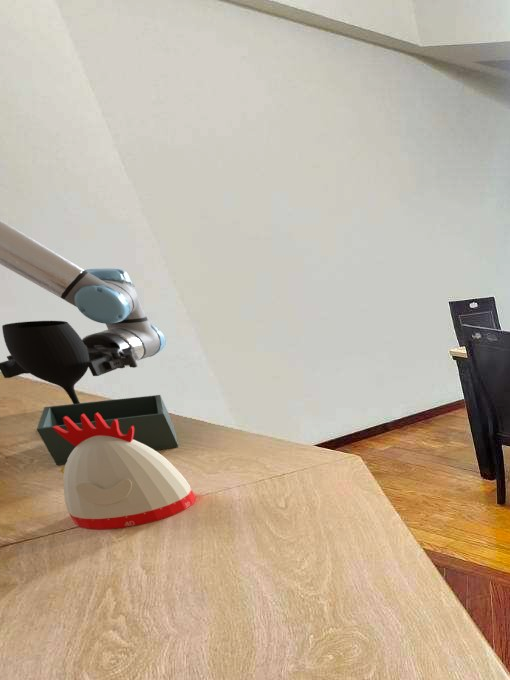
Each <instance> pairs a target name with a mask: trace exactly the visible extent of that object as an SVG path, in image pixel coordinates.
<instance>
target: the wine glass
mask: <svg viewBox="0 0 510 680" xmlns="http://www.w3.org/2000/svg"><path fill="white" fill-rule="evenodd" d="M1 327H2V329H1V330H2V335H3V336H2V337H3V339H4V343H5V346H6V349H7V350H8V353H9V354H10V355H11V356H12V357H13V359H14V360H15V361H16V362H17V363H18V365H19V366H21V367H22V368H23V369H24V370H26V371H27V372H29V373H28V374H29V375H32V376H33V377H36V378H37V379H40V380H42V381H44V382H47V383H50V384H52V385H55V386H58V387H61V388H62V389H63V390H64V391H65V392H66V394H67V395H68V397H69V399H70V400H71V402H72V404H78V403H81V402H80V400H79V398H78V395H77V393H76V390H75V385H76V384H77V383H78V382H79V381H80V380H81V379H83V377H84V376H85V374H86V373H87V371H88V369H89V367H88V365H87V363H86V362H88V361H89V354H88V351H87V348H86V346H85V344H84V343H83V341H82V339H83V338H81V336H80V335H79V334H78V333H77V331H76V330H75V329H74V328H73V326H72V325H70V323H69V322H68V321H65V320H64V321H63V320H31V321H19V322H11V323H6V324H3V325H2V326H1Z"/></svg>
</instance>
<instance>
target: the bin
mask: <svg viewBox="0 0 510 680" xmlns="http://www.w3.org/2000/svg"><path fill="white" fill-rule="evenodd" d="M97 412H98V413H99V414H100V415H101V417H102V418H103V419H104V421H105V422H106V424H107V425H108V426H109V427H110V428H111V425H112V422H113V421H114V420H115V419H117V420H118V423H119V430H120V432H121V433H122V434H124V435H126V434H128V432H129V429H130V428H131V427H132V426H134V437H133V440H136V441H138V442H140V443H142V444H144V445H146V446H148V447H150V448H152V449H153V450H155V451H161V450H169V449H174V448H175V449H176V448H179V442H178V438H177V434H176V429H175V425H174V422H173V420H172V418H171V416H170V413H169V411H168V409H167V406H166V405H165V402H164V400H163V398H162V396H161V394H156V395H147V396H146V395H145V396H137V397H126V398H118V399H116V398H115V399H107V400H98V401H89V402H80V403H78V404H73V403H70V404H69V403H68V404H60V405H59V404H58V405H51V406H44V407H43V410H42V413H41V416H40V418H39V422H38V424H37V427H36V432H37V433H38V435H39V437H40V438H41V440H42V442H43V443H44V445H45V447H46V449H47V451H48V452H49V455H50V456H51V458H52V460H53V462H54V463H55V465H56V466H60V465H66V460H67V459H68V457H69V455H70V454H71V452H72V451H73V450H74V448H75V447H76V446H74V445H73V444H72V443H70V442H69V441H68V440H66V439H65V438H63V437H62V436H61V435H60V434H58V433H57V432H56V431H55V430H54V429H53V427H54V426H58V427H60V428H62V429H64V430H66V431H68V429H67V427H66V425H65V423H64V421H63V418H64V417H65V416H67V417H69V418H70V419H71V420H72V421H73V422H74V423H75V424H76V425H77V426H78V427H79V428H80V429H83V427H82V423H81V417H80V416H81V415H82V414H83V413H84V414H85V415H86V417H87V418H88V419H89V421H90V422H91V423H92V425H93V426H94V427H95V428H96V423H95V417H94V415H95V414H96V413H97ZM68 432H69V431H68Z"/></svg>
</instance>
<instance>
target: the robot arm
mask: <svg viewBox="0 0 510 680" xmlns="http://www.w3.org/2000/svg"><path fill="white" fill-rule="evenodd" d="M0 265H1V266H3V267H4V268H6V269H8V270H10V271H11V272H14V273H16V274H17V275H19V276H20V277H22V278H25V280H27V281H30V282H32V283H33V284H35V285H37V286H39V287H40V288H43V289H44V290H46V291H47V292H49V293H51V294H53V295H55V296H57V297H59V298H60V299H62V300H64V301H65V302H67V303H69V304H70V305H72V306H74V307H75V308H77V309H78V311H79V312H80V313H81V314H82V315H83V316H84V317H86V318H87V319H89V320H91V321H93V322H96V323H98V324H99V323H100V324H105V326H106V328H107V329H104V330H101V331H97V332H95V333H91V334H88V335H86V336H84V337H83V338H81V339H82V341H83V343H84V344H85V346H86V348H87V351H88V354H89V361H88V362H86V363H87V365H88V369H89V371H90V373H91V375H92V377H99V376H102V375H105V374H106V373H110V372H112V371H116V370H118V369H124V368H126V367H130V368H132V369H135V368H138V363H137V362H138V361H140V360H143V359H146V358H151V357H154V356H155V355H157V354H159V353H161V352H162V351H163V350H164V348H165V346H166V338H165V335H164V334H163V332H162V331H161V330H160V329H159V328H158V327H156V326H155V325H153V324H151V323H150V321H149V319H148V317H147V315H146V313H145V311H144V308H143V306H142V303H141V301H140V299H139V296H138V293H137V290H136V289H135V284H134V283H133V282H132V280H131V278H130V276H129V273H128V272H127V271H126V270H124V269H122V268H121V269H120V268H87V269H84V268H82V267H81V266H79V265H77V264H76V263H74V262H72V261H70V260H68V258H65V257H64V256H63V255H60V254H59V253H57V252H55V251H54V250H52V249H50V248H48V247H47V246H45V245H44V244H42V243H41V242H39V241H37V240H35V239H34V238H32V237H30V236H29V235H27V234H25V233H23V232H22V231H21V230H18V229H17V228H15V227H14V226H12V225H11V224H9V223H7V222H5V221H4V220H2V219H0ZM6 359H7V360H4V361H2V362H0V372H1V374H2V376H3V378H4V379H11V378H15V377H18V376H20V375H23V374H25V375H26V374H30V373H29V372H27V371H26V370H24V369H23V368H22V367H21V366H19V365H18V363H17V362H16V361H15V360H14V359H13V357H12V356H11V354H10V355H6Z"/></svg>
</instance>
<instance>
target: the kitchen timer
mask: <svg viewBox="0 0 510 680" xmlns="http://www.w3.org/2000/svg"><path fill="white" fill-rule="evenodd" d="M80 417H81V423H82V427H83V429H80V428H79V427H78V426H77V425H76V424H75V423H74V422H73V421H72V420H71V419H70V418H69V417H67V416H65V417H64V418H63V421H64V423H65V425H66V427H67V429H68V431H69V432H68V431H66V430H64V429H62V428H60V427H58V426H54V427H53V429H54V430H55V431H56V432H57V433H58V434H60V435H61V436H62V437H63V438H65V439H66V440H68V441H69V442H70V443H72V444H73V445H74V446H76V447H75V448H74V450H73V451H72V452H71V454H70V455H69V457H68V459H67V460H66V464H64V466H63V467H62V469H61V470H60V473H62V474H63V476H62V477H63V480H62V482H63V483H62V485H63V494H64V503H65V506H66V510H67V512H68V515H69V516H70V518H71V519H72V521H73V523H74V524H75V525H76V526H78V527H79V528H82V529H88V530H113V529H121V528H122V529H123V528H129V527H134V526H135V527H136V526H140V525H144V524H148V523H153V522H156V521H160V520H163V519H165V518H169V517H171V516H174V515H176V514H179V513H181V512H184V511H185V510H186V509H188V508H189V507H191V506H192V505H193V504H194V503H195V502H196V496H195V494H194V492H193V490H192V487H191V485H190V483H189V482H188V481H187V479H186V478H185V477H184V476H183V474H182V473H181V472H180V471H179V470H178V469H177V468H176V467H175V466H174V465H173V464H172V463H171V462H170V461H169V460H168V459H167V458H166V457H165V456H163V455H162V454H161V453H160V452H158V451H157V450H153V449H152V448H150V447H148V446H146V445H144V444H142V443H140V442H138V441H136V440H133V437H134V426H132V427H131V428H130V429H129V432H128V434H126V435H124V434H122V433H121V432H120V430H119V423H118V420H117V419H115V420H114V421H113V422H112V425H111V428H110V427H109V426H108V425H107V424H106V422H105V421H104V419H103V418H102V417H101V415H100V414H99V413H98V412H97V413H96V414H95V415H94V417H95V423H96V428H95V427H94V426H93V425H92V423H91V422H90V421H89V419H88V418H87V417H86V415H85V414H84V413H83V414H82V415H81V416H80Z"/></svg>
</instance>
